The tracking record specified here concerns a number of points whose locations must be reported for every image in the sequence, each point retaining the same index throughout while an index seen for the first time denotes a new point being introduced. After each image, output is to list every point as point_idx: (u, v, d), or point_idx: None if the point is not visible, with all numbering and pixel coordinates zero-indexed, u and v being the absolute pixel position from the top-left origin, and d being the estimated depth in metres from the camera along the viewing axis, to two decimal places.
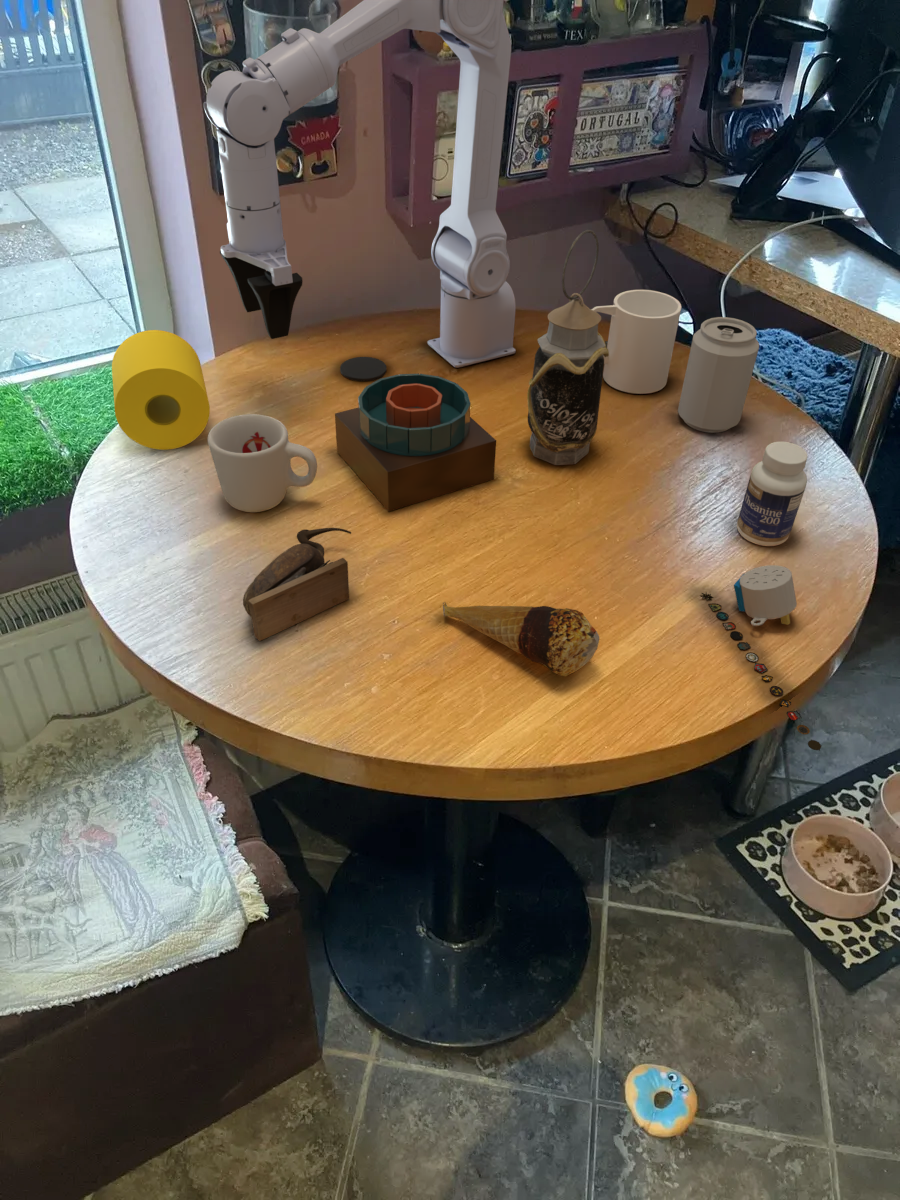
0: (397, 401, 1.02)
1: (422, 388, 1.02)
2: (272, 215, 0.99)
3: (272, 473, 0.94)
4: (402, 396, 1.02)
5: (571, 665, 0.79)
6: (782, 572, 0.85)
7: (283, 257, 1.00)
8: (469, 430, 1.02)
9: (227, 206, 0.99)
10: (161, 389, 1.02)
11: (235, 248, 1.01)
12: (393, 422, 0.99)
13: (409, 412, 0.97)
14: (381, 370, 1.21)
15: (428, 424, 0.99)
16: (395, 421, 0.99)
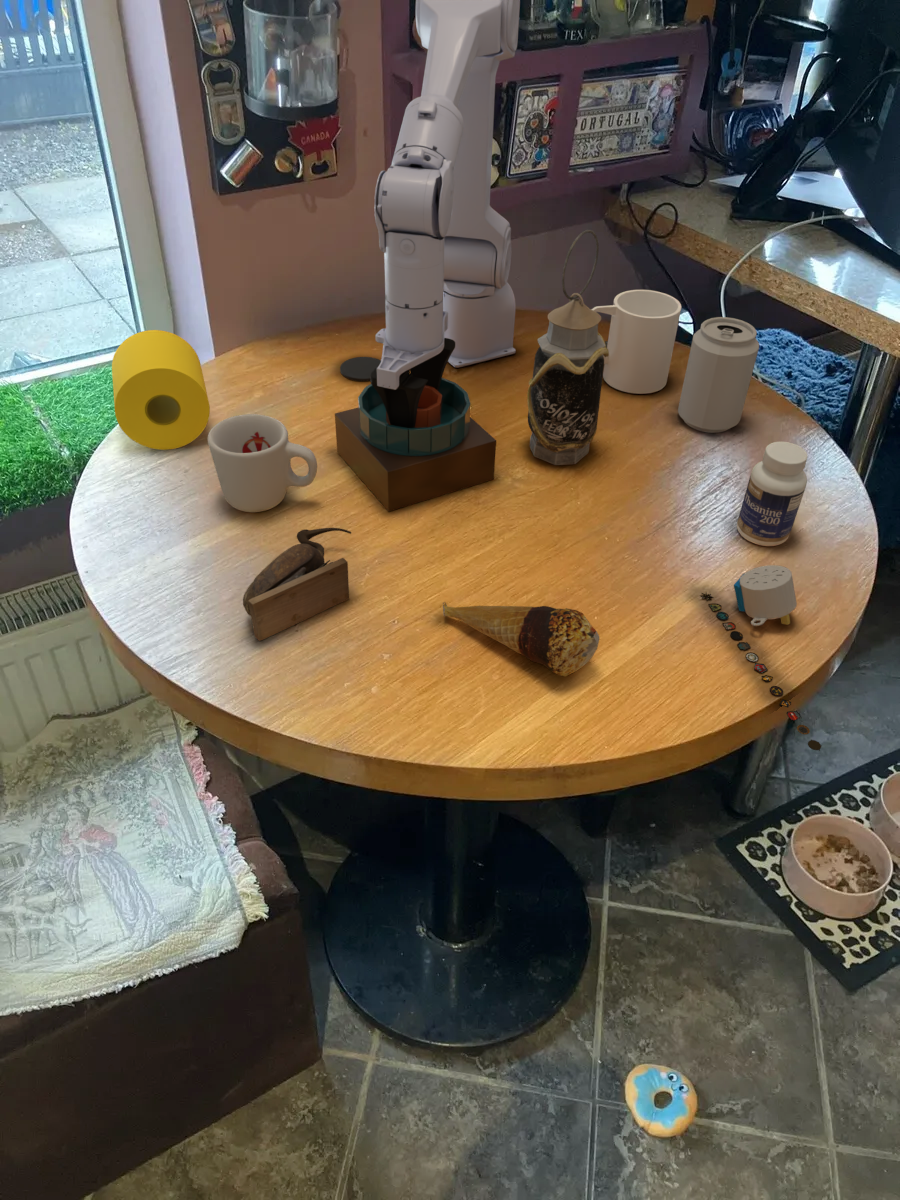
0: None
1: None
2: (414, 316, 0.91)
3: (272, 473, 0.94)
4: None
5: (571, 665, 0.79)
6: (782, 572, 0.85)
7: (406, 361, 0.92)
8: (469, 430, 1.02)
9: None
10: (161, 389, 1.02)
11: (386, 335, 0.95)
12: None
13: None
14: None
15: (428, 424, 0.99)
16: None
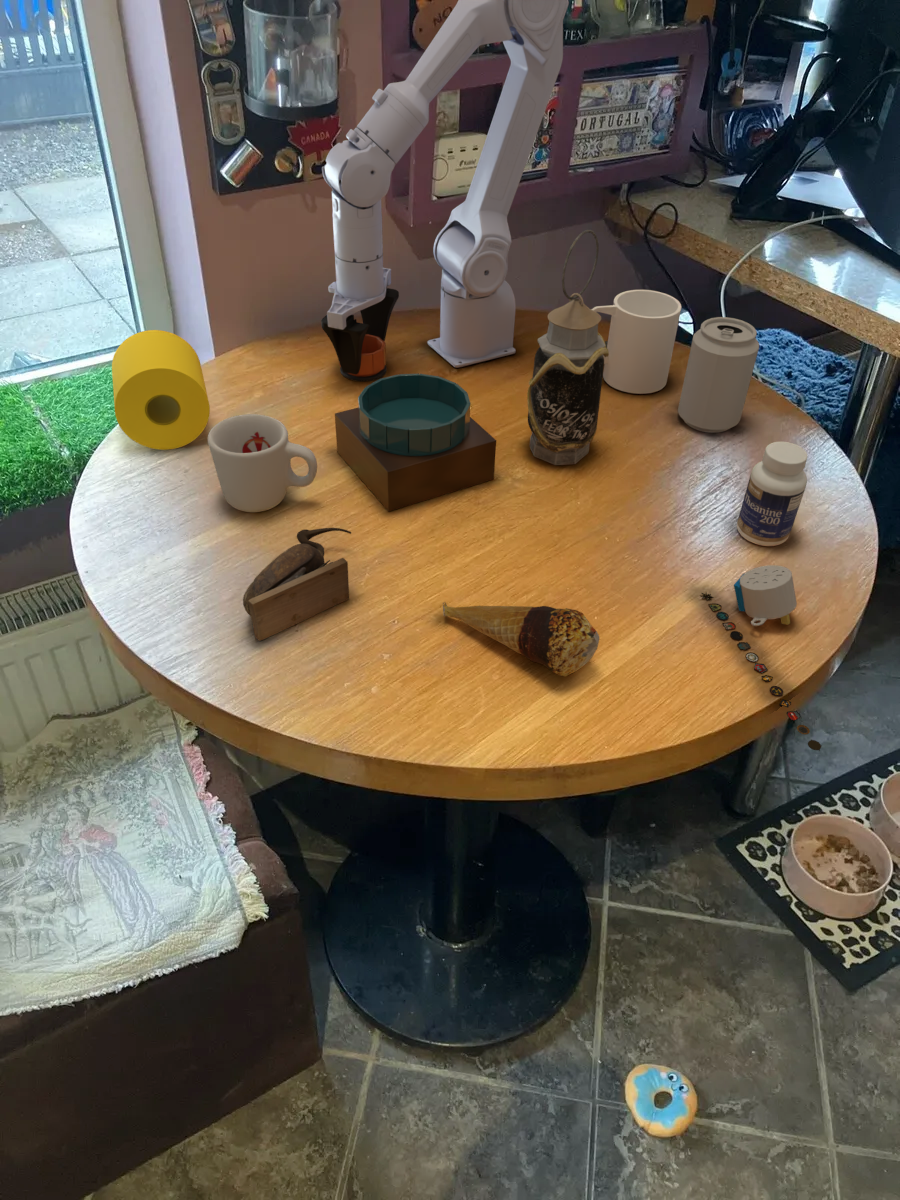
0: None
1: (369, 338, 1.21)
2: (358, 269, 1.10)
3: (272, 473, 0.94)
4: None
5: (571, 665, 0.79)
6: (782, 572, 0.85)
7: (352, 306, 1.11)
8: (469, 430, 1.02)
9: None
10: (161, 389, 1.02)
11: (337, 286, 1.15)
12: None
13: None
14: (381, 370, 1.21)
15: (373, 367, 1.18)
16: None
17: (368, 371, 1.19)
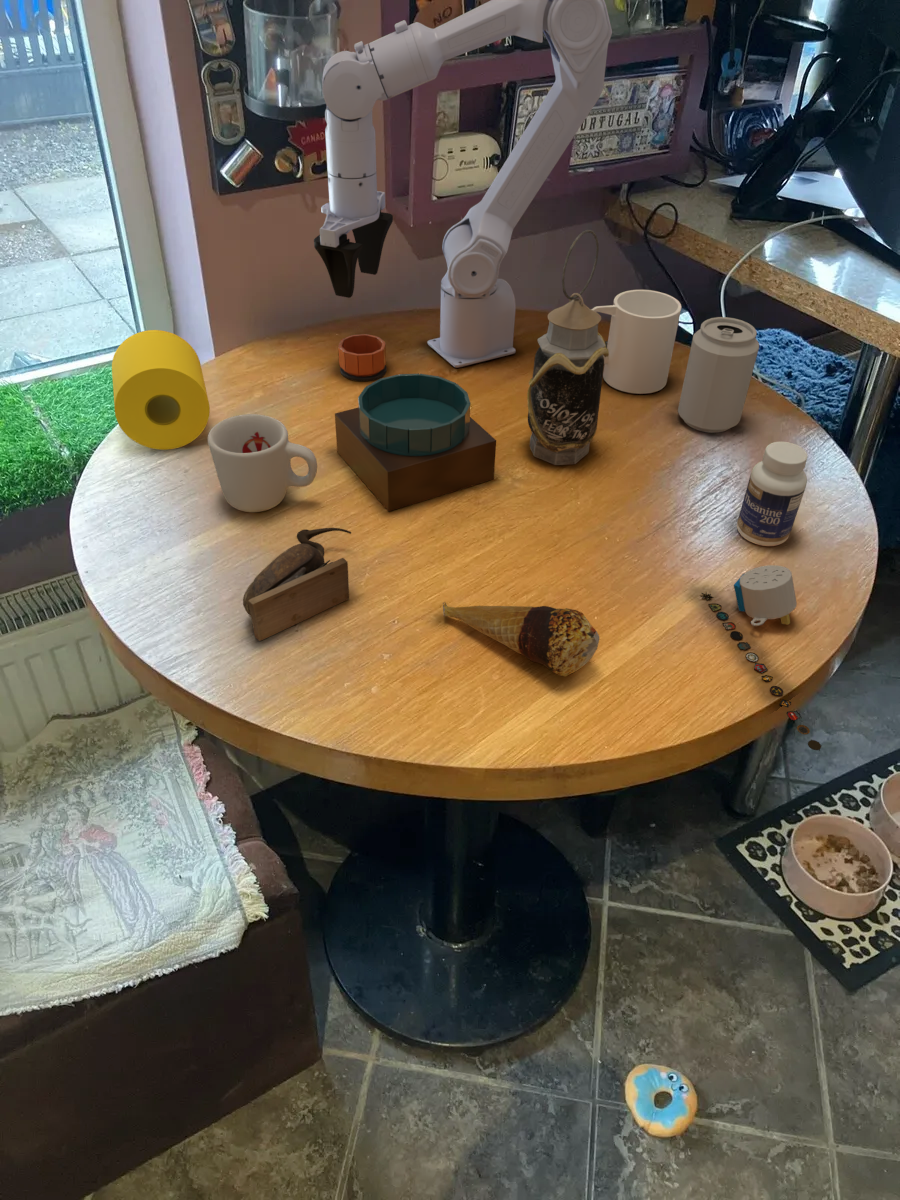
0: (348, 349, 1.21)
1: (369, 338, 1.21)
2: (351, 185, 1.08)
3: (272, 473, 0.94)
4: (353, 345, 1.22)
5: (571, 665, 0.79)
6: (782, 572, 0.85)
7: (345, 224, 1.09)
8: (469, 430, 1.02)
9: None
10: (161, 389, 1.02)
11: (330, 207, 1.13)
12: (344, 365, 1.19)
13: (357, 356, 1.17)
14: (381, 370, 1.21)
15: (373, 367, 1.18)
16: (346, 364, 1.19)
17: (368, 371, 1.19)
